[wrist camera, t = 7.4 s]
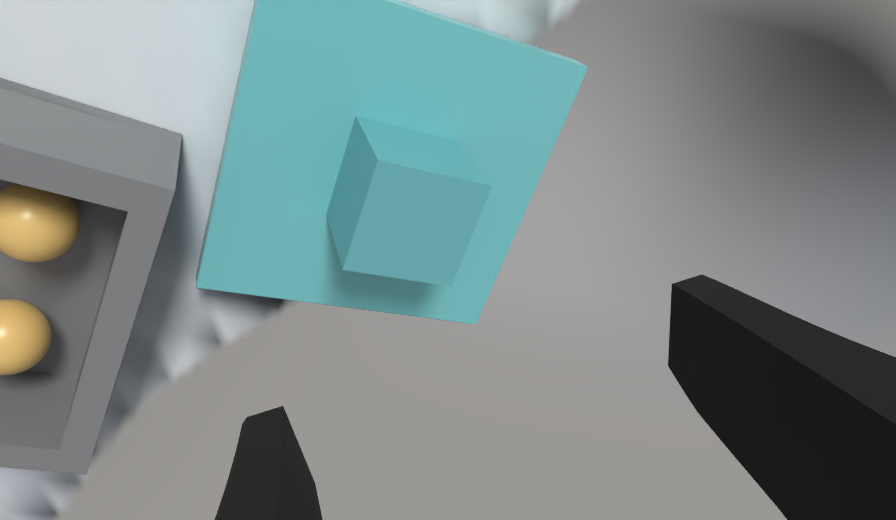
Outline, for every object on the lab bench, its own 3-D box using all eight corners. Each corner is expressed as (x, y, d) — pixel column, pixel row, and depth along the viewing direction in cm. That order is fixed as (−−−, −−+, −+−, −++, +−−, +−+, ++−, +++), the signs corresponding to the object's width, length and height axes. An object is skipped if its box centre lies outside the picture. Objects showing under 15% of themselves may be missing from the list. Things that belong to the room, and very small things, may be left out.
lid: (463, 301, 24) (507, 382, 20) (197, 261, 20) (193, 353, 17) (566, 54, 20) (642, 101, 17) (263, -48, 17) (276, -15, 13)
